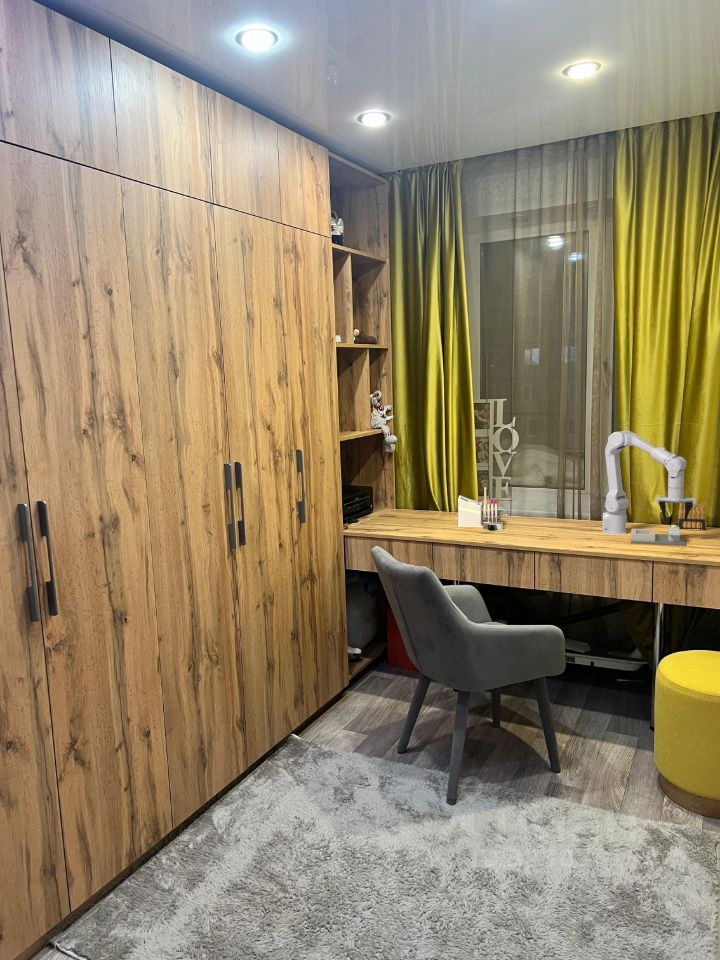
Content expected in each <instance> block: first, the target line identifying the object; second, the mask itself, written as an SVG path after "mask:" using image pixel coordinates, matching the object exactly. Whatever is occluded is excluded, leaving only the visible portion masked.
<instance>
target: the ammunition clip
mask: <svg viewBox="0 0 720 960" xmlns="http://www.w3.org/2000/svg"><path fill="white" fill-rule="evenodd" d="M684 515H685V504H684V505H683V503H679V509H678V523H677V527H679V529H700V530H699V531H706V516H707V515H706V505H705V503H702V507H701V503H698V504H697V505H696V504H693V506H692V509H691V510H690V512H689V514H688V517H687V521H684ZM701 529H702V530H701Z"/></svg>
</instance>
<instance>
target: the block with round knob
mask: <svg viewBox="0 0 720 960" xmlns="http://www.w3.org/2000/svg"><path fill="white" fill-rule="evenodd" d="M667 527H668V528H667V535H668V541H679V537H680V535H681V533H680V531H681V530H680V529H679V527H678V526H677V525H676V524H671V526H667Z"/></svg>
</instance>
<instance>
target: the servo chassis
mask: <svg viewBox="0 0 720 960" xmlns="http://www.w3.org/2000/svg"><path fill="white" fill-rule="evenodd" d="M630 530H631V531H630V544H632V545H633V544H634V545H652V546H653V545H656V546H671V547H672V546H673V547H675V546H676V547H686V541H685V536H684V535H683V534H680V537H679V541H668V534H662V533H661V534H658V533H656V529H650V528H649V529H647V528H631V529H630Z"/></svg>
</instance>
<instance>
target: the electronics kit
mask: <svg viewBox="0 0 720 960" xmlns="http://www.w3.org/2000/svg"><path fill="white" fill-rule="evenodd" d="M483 491H484V493H483V494H484V495H483V497H484V499H481V501H480V500H475V499H470V498H468V497H466V496H463V495H458V498H457V515H458V517H456V516H455V518H454V521H455V520H456V519H457V520H458V527H483V528H482V529H483V530H487V531H488V530H489V532H495V531H500V530H501V531H502V530H503V529H504V523H503V522H502V521H499V520H501V515H503V516H507V517H508V515H509V514H507V513H506V514H505V513H504V514H501V513H500V511H499V510H498V508H499V506H498V505H499V502H498V500H499V499H487V487H486V486H484V487H483Z"/></svg>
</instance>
